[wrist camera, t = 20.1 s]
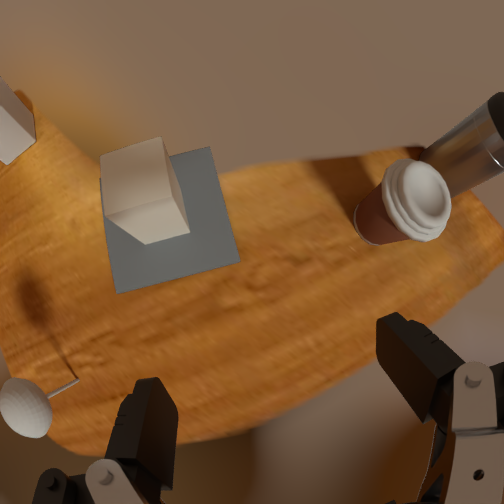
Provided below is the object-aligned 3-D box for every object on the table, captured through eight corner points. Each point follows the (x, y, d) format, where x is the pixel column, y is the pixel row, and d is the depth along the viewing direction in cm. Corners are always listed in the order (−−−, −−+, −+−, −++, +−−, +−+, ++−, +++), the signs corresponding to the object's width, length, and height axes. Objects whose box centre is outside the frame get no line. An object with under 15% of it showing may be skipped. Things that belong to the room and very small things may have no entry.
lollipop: (55, 358, 28) (-20, 382, 13) (88, 355, 28) (15, 384, 14) (68, 402, 27) (4, 443, 12) (103, 400, 27) (42, 451, 13)
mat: (210, 148, 34) (209, 146, 33) (240, 261, 32) (240, 261, 31) (101, 180, 32) (99, 178, 31) (118, 293, 30) (116, 293, 29)
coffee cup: (364, 267, 33) (423, 253, 22) (331, 204, 34) (377, 164, 23) (409, 238, 35) (468, 217, 23) (380, 181, 36) (430, 143, 24)
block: (180, 189, 32) (161, 135, 20) (190, 232, 31) (172, 196, 20) (137, 201, 31) (99, 155, 19) (145, 244, 31) (104, 216, 19)
